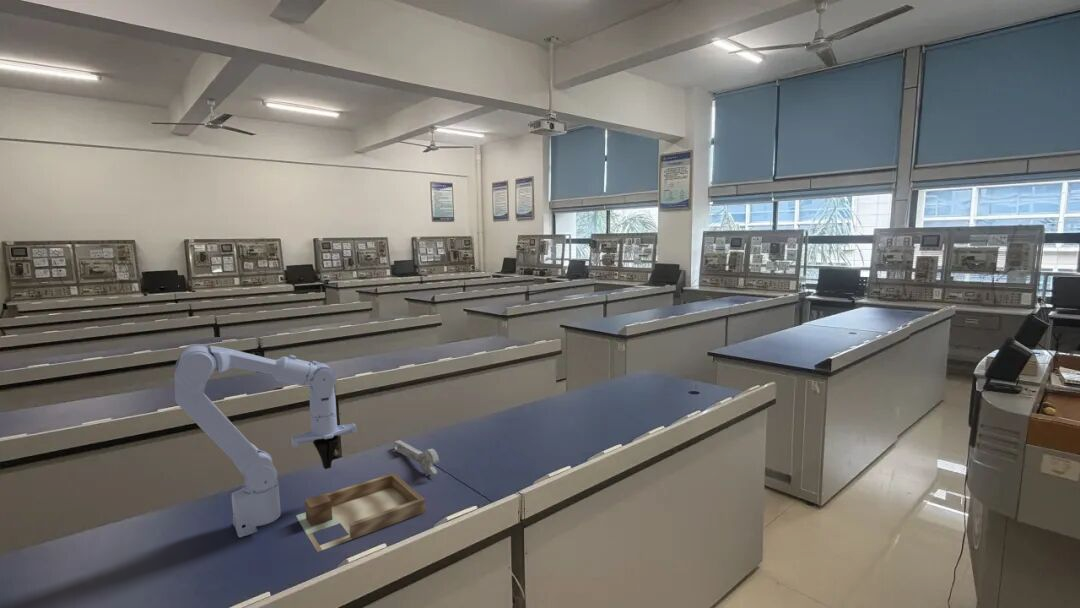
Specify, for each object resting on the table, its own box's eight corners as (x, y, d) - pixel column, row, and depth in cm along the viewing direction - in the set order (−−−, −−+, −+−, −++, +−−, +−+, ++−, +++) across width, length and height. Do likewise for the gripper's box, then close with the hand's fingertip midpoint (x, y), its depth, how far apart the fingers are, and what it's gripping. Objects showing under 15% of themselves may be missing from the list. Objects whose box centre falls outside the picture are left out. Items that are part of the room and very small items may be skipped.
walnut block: (311, 526, 111) (310, 507, 110) (306, 518, 114) (304, 499, 114) (332, 519, 114) (331, 500, 113) (326, 511, 117) (325, 493, 117)
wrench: (400, 456, 157) (441, 481, 133) (394, 458, 156) (435, 483, 132) (397, 431, 157) (438, 451, 133) (392, 432, 156) (432, 453, 132)
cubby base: (317, 557, 102) (316, 538, 101) (295, 520, 116) (294, 503, 115) (425, 516, 117) (425, 499, 116) (395, 488, 131) (394, 472, 130)
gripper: (294, 424, 113) (298, 481, 115) (359, 411, 122) (362, 464, 123) (288, 416, 119) (292, 470, 120) (350, 404, 127) (353, 455, 129)
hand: (326, 467), depth 122 cm, fingers closed
